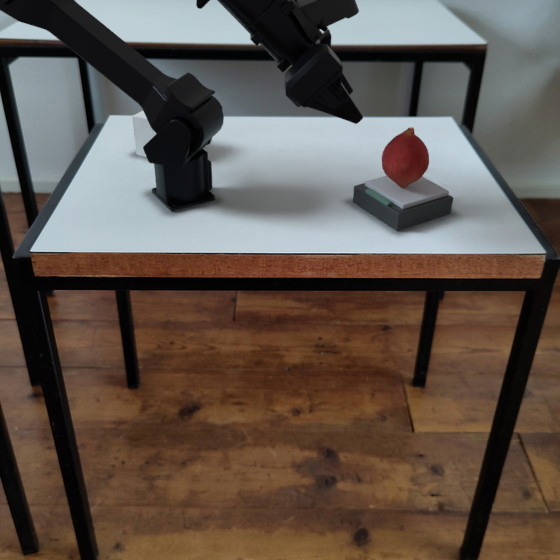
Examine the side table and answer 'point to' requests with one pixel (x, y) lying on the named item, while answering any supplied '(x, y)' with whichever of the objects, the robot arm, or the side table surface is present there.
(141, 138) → the white cube
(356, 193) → the scale
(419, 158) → the onion
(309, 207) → the side table surface
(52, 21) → the robot arm
